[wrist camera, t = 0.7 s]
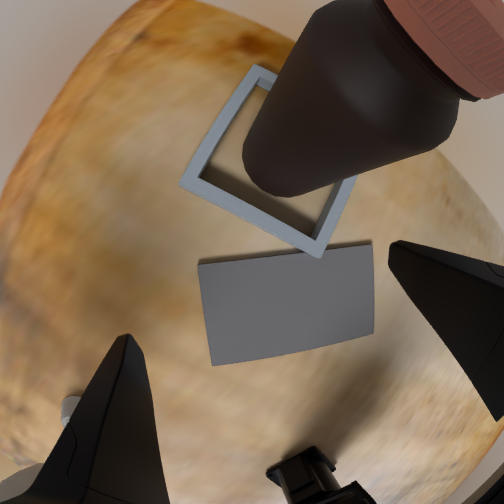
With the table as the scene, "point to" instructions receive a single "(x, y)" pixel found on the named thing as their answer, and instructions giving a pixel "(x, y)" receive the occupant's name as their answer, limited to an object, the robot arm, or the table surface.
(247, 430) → the table surface
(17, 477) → the chalice
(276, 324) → the mat
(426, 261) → the robot arm
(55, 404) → the table surface
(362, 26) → the vinegar
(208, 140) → the bottle holder
